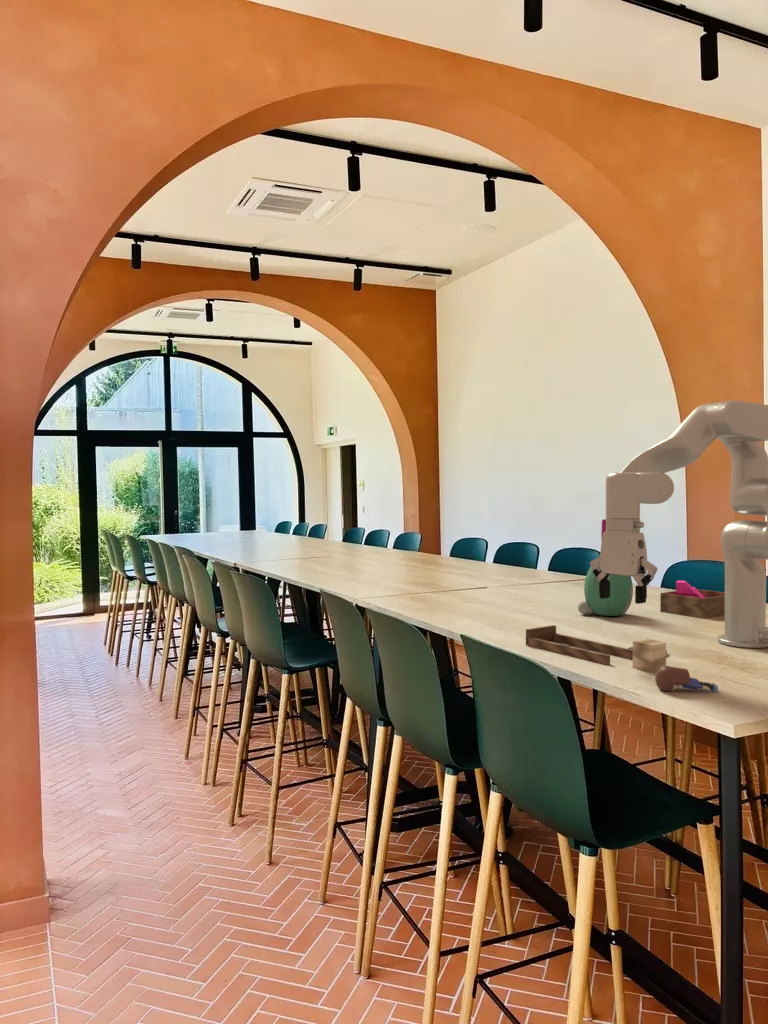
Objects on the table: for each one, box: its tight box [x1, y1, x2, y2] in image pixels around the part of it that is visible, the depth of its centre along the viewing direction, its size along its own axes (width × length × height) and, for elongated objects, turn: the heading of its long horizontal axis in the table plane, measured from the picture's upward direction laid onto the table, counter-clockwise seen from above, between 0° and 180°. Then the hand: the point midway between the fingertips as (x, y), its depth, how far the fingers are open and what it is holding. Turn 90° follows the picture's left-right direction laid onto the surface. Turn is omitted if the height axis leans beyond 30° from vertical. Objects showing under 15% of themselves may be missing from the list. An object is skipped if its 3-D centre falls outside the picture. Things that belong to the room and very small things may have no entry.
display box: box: [659, 588, 725, 619], centre depth 237 cm, size 15×17×6 cm
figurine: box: [655, 665, 719, 693], centre depth 147 cm, size 5×5×12 cm
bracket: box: [675, 580, 705, 598], centre depth 238 cm, size 12×10×10 cm
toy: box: [577, 518, 634, 617], centre depth 233 cm, size 15×17×30 cm
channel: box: [525, 624, 633, 666], centre depth 182 cm, size 26×10×4 cm, turn 34°
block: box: [632, 638, 667, 673], centre depth 165 cm, size 5×5×6 cm
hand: (622, 600), depth 170 cm, fingers open, 9 cm apart
